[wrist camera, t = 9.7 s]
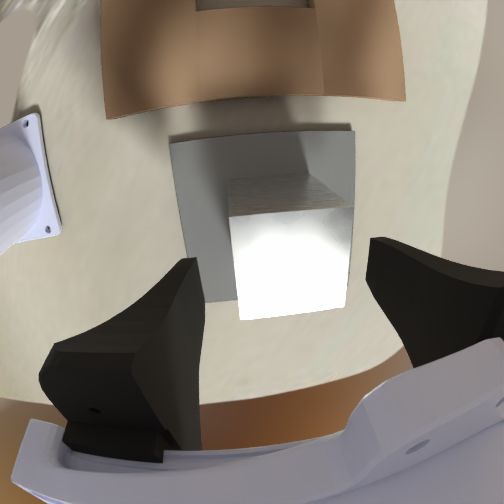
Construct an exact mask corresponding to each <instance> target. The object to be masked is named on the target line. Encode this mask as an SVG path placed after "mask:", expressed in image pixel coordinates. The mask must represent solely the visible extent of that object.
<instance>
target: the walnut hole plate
mask: <svg viewBox="0 0 504 504" xmlns="http://www.w3.org/2000/svg"><path fill="white" fill-rule="evenodd" d="M307 2H308V8H302V7H277V6H261V7H236V8H222V9H212V10H204V11H197V5H196V0H101V60H102V78H103V90H104V101H105V111H106V119H117V118H121V117H125V116H129V115H133V114H138V113H142V112H147V111H152V110H157V109H162V108H168V107H173V106H179V105H185V104H192V103H199V102H207V101H215V100H224V99H235V98H247V97H263V96H294V95H312V96H343V97H358V98H370V99H381V100H389V101H406V94H405V78H404V66H403V56H402V47H401V40H400V33H399V26H398V20H397V14H396V9H395V4H394V0H307Z"/></svg>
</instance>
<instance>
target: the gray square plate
mask: <svg viewBox="0 0 504 504" xmlns="http://www.w3.org/2000/svg"><path fill="white" fill-rule="evenodd" d="M169 145H170V153H171V160H172V167H173V174H174V181H175V187H176V194H177V200H178V206H179V212H180V217H181V223H182V229H183V234H184V240H185V245H186V250H187V255H188V258H192V257H197V262H198V267H199V272H200V278H201V283H202V288H203V293H204V298H205V303H210V302H221V301H231V300H238V294H237V285H236V277H235V268H234V260H233V251H232V242H231V233H230V224H229V206H228V179H237V178H248V177H259V176H273V175H287V174H305V173H310V174H311V175H312V176H314V177H315V178H316V179H318V180H319V181H320V182H322V183H323V184H324V185H326V186H327V187H328V188H330V189H331V190H332V191H334V192H335V193H336V194H338V195H339V196H340V197H341V198H343V199H344V200H345V201H347V202H348V203H349V204H350V205H352V206H353V219H354V198H355V131H333V130H325V131H285V132H267V133H253V134H241V135H230V136H221V137H212V138H204V139H197V140H190V141H183V142H176V143H171V144H169ZM352 235H353V221H352ZM352 235H351V248H352ZM351 248H350V259H349V269H348V278H347V286H348V280H349V270H350V260H351Z"/></svg>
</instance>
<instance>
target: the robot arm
mask: <svg viewBox="0 0 504 504" xmlns="http://www.w3.org/2000/svg"><path fill="white" fill-rule="evenodd" d="M27 120H28V122H29V125H28V127H27V125H26V123H27ZM48 226H49V227H50V229H51V231H50V230H49V229H48ZM61 230H62V225H61V222H60V218H59V214H58V211H57V207H56V203H55V199H54V195H53V190H52V186H51V181H50V177H49V172H48V167H47V161H46V156H45V150H44V143H43V136H42V129H41V120H40V115H39V114H38V113H31V114H29V115H26V116H24V117H22V118H20V119H18V120H16V121H14V122H12V123H10V124H8V125H7V126H5V127H3V128H1V129H0V255H2V254H3V253H4V252H5V251H6V250H7V249H9V248H10V247H11V246H12V245H13V244H15V243H20V242H25V241H30V240H35V239H40V238H45V237H50V236H56V235H58V234H59V233H60V232H61ZM366 282H367V284H368V286H369V288H370V290H371V292H372V294H373V296H374V298H375V300H376V301H377V303H378V304H379V306H380V307H381V309H382V310H383V312H384V313H385V315H386V316H387V318H388V319H389V321H390V322H391V324H392V325H393V327H394V328H395V330H396V332H397V333H398V335H399V337H400V338H401V340H402V342H403V344H404V346H405V349H406V351H407V353H408V355H409V357H410V360H411V363H412V365H413V369H411V370H408V371H406V372H404V373H401V374H399V375H397V376H395V377H393V378H390V379H389V380H386V381H384V382H383V383H382V384H380V385H379V386H378V387H376V388H375V389H374V390H372V391H371V392H369V393H368V394H367V395H365V396H364V397H363V399H362V400H361V401H360V403H359V404H358V405H357V407H356V408H355V409H354V411H353V412H352V414H351V415H350V417H349V420H348V423H347V425H346V428H345V429H344V430H342V431H339V432H336V433H334V434H331V435H327V436H323V437H318V438H313V439H308V440H303V441H297V442H291V443H285V444H278V445H271V446H263V447H253V448H243V449H231V450H211V451H209V450H208V451H202V442H201V429H200V411H199V364H200V356H201V348H202V340H203V332H204V324H205V298H204V293H203V288H202V283H201V278H200V272H199V267H198V262H197V257H192V258H183V259H181V260H179V261H178V262H177V263H176V264H175V266H174V267H173V268H172V269H171V270H170V271H169V272H168V273H167V274H166V275H165V276H164V277H163V278H162V279H161V280H160V281H159V282H158V283H157V284H156V285H155V286H154V287H152V288H151V289H150V290H149V291H148V292H147V293H146V294H145V295H144V296H142V297H141V298H140V299H139V300H138V301H136V302H135V303H134V304H132V305H131V306H130V307H128V308H127V309H125V310H124V311H122V312H121V313H119V314H117V315H116V316H114V317H112V318H111V319H109V320H108V321H106V322H104V323H102V324H100V325H98V326H96V327H94V328H92V329H90V330H88V331H86V332H84V333H81V334H79V335H76V336H74V337H71V338H68V339H66V340H63V341H60V342H57V343H54V345H53V347H52V349H51V351H50V353H49V354H48V356H47V358H46V360H45V362H44V364H43V366H42V368H41V370H40V372H39V382H40V385H41V388H42V390H43V391H44V393H45V394H46V396H47V397H48V399H49V400H50V401H51V402H52V403H53V405H54V406H55V407H56V408H57V409H58V410H59V411H60V413H61V414H62V415H63V416H64V417H65V418H66V419H67V420H68V422H67V426H66V429H64V428H62V427H60V426H59V425H56V424H53V423H48V422H44V421H40V420H36V419H30V422H29V424H28V427H27V430H26V432H25V435H24V438H23V441H22V444H21V447H20V450H19V453H18V456H17V459H16V462H15V465H14V469H13V472H12V476H11V480H12V482H13V483H15V484H17V485H18V486H20V487H21V488H23V489H24V490H26V491H27V492H29V493H31V494H33V495H34V496H36V497H38V498H39V499H41V500H43V501H45V502H46V503H48V504H504V272H501V271H491V270H486V269H481V268H476V267H471V266H467V265H462V264H459V263H456V262H452V261H449V260H446V259H443V258H440V257H437V256H435V255H432V254H429V253H427V252H424V251H422V250H419V249H417V248H414V247H412V246H409V245H407V244H404V243H402V242H399V241H396V240H393V239H390V238H386V237H376V238H370V247H369V256H368V264H367V272H366Z"/></svg>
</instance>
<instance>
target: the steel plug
mask: <svg viewBox="0 0 504 504" xmlns="http://www.w3.org/2000/svg"><path fill="white" fill-rule="evenodd" d="M228 206H229V224H230V233H231V242H232V251H233V260H234V268H235V277H236V285H237V294H238V302H239V310H240V318H241V320H245V319H254V318H263V317H272V316H280V315H288V314H296V313H303V312H310V311H317V310H324V309H331V308H337V307H343V306H344V303H345V295H346V287H347V278H348V269H349V259H350V248H351V235H352V221H353V206H352V205H350V204H349V203H348V202H347V201H345V200H344V199H343V198H341V197H340V196H339V195H338V194H336V193H335V192H334V191H332V190H331V189H330V188H328V187H327V186H326V185H324V184H323V183H322V182H320V181H319V180H318V179H316V178H315V177H314V176H312V175H311V174H310V173H305V174H287V175H273V176H259V177H248V178H237V179H228Z"/></svg>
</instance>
